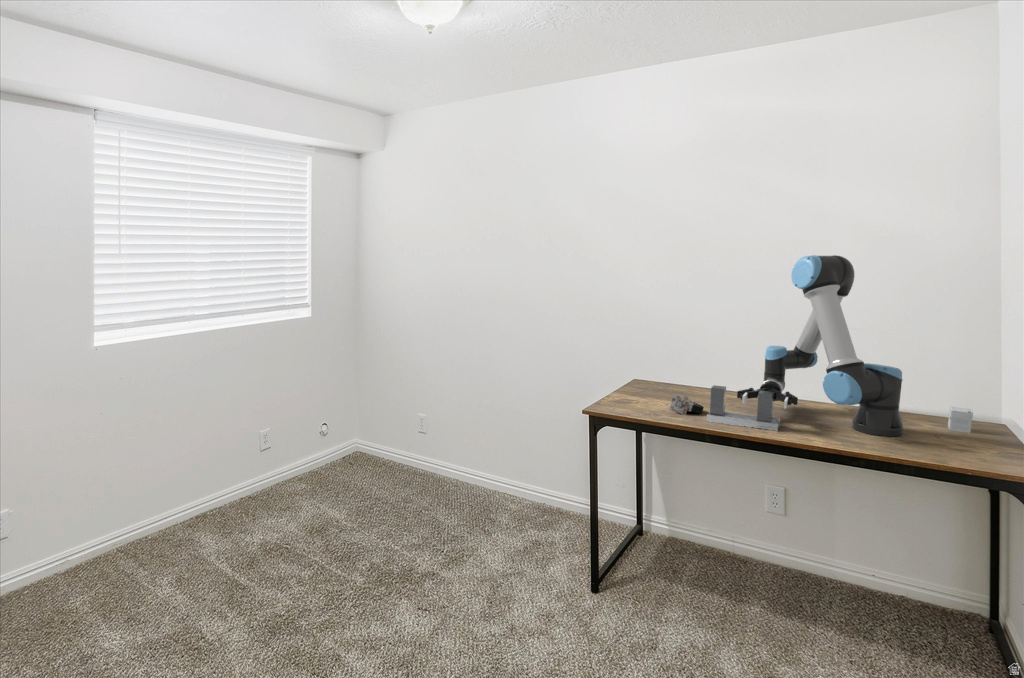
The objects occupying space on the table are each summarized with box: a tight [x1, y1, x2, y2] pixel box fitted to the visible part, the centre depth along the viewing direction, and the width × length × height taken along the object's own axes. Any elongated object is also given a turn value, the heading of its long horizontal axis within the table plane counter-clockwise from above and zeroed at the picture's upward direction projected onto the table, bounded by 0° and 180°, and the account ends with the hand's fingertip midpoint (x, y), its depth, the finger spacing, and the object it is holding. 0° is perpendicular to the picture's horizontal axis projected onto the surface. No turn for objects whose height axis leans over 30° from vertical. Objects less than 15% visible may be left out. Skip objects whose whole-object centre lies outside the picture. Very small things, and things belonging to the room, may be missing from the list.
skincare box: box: [947, 406, 974, 434], centre depth 199 cm, size 6×6×7 cm
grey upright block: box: [756, 390, 774, 422], centre depth 203 cm, size 5×4×11 cm
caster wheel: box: [668, 393, 704, 416], centre depth 223 cm, size 7×11×10 cm
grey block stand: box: [706, 384, 781, 432], centre depth 207 cm, size 24×8×12 cm, turn 60°
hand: (763, 402), depth 200 cm, fingers open, 13 cm apart
